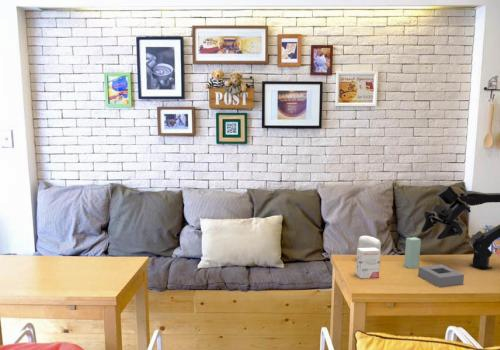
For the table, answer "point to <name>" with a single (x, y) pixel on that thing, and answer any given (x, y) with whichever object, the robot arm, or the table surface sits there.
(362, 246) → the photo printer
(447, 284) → the grey square socket block
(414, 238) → the pale green block
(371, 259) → the ink box
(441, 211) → the robot arm
